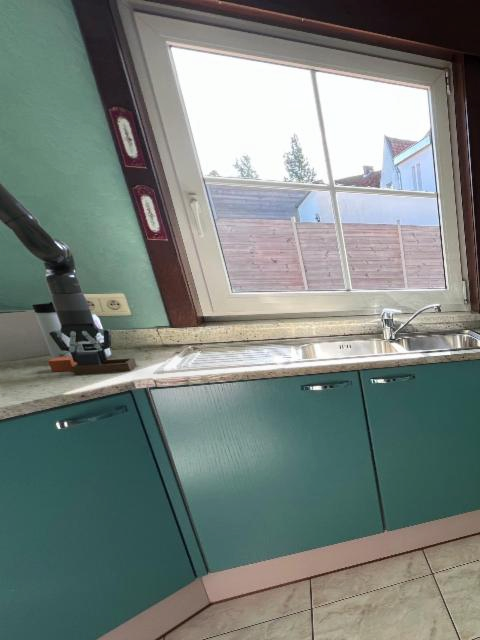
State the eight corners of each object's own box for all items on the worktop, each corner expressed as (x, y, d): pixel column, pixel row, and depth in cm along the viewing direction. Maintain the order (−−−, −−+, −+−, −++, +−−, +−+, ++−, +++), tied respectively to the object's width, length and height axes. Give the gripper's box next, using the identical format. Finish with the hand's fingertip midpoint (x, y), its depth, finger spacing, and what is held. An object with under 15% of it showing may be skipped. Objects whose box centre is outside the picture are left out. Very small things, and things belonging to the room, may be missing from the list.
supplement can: (91, 355, 179) (76, 313, 174) (117, 355, 181) (103, 313, 175) (74, 359, 172) (57, 315, 166) (101, 359, 173) (86, 316, 168)
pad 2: (78, 366, 154) (74, 355, 153) (84, 362, 159) (80, 352, 157) (100, 365, 156) (96, 354, 155) (105, 361, 161) (101, 350, 160)
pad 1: (52, 372, 155) (47, 361, 154) (58, 368, 160) (54, 357, 159) (73, 370, 158) (69, 359, 157) (79, 366, 163) (75, 356, 161)
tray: (74, 374, 153) (71, 366, 152) (83, 369, 160) (80, 361, 159) (130, 371, 159) (127, 363, 158) (136, 365, 167) (134, 358, 166)
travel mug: (68, 364, 166) (45, 302, 158) (48, 363, 166) (24, 302, 158) (86, 360, 172) (64, 301, 164) (67, 359, 171) (44, 300, 164)
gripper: (34, 310, 145) (56, 367, 151) (100, 308, 152) (118, 363, 158) (44, 307, 150) (64, 362, 157) (106, 306, 158) (124, 359, 164)
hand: (91, 362), depth 157 cm, fingers closed on pad 2, 5 cm apart
